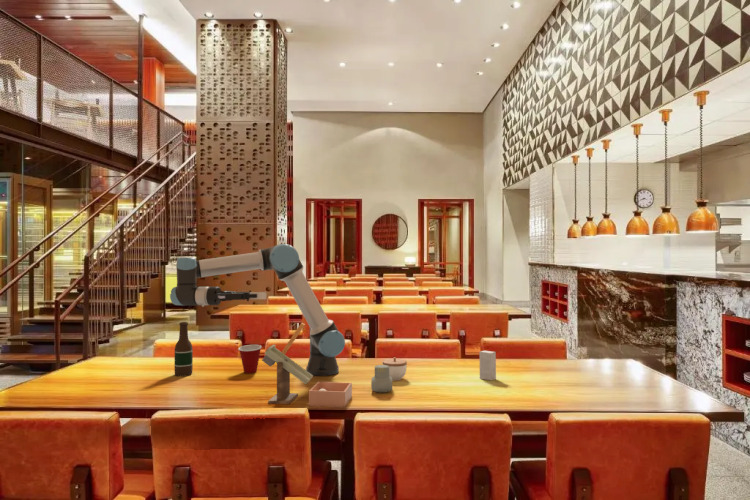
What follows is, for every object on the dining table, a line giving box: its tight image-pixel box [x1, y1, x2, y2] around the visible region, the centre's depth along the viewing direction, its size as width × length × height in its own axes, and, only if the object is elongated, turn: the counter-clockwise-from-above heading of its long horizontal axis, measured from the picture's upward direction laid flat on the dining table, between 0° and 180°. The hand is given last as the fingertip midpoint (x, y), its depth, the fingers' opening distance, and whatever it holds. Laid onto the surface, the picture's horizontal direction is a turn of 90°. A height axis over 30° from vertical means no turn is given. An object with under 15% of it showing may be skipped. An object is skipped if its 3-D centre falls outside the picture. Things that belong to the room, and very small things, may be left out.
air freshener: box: [370, 364, 393, 394], centre depth 205 cm, size 11×8×10 cm
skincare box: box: [478, 350, 497, 381], centre depth 224 cm, size 6×4×12 cm
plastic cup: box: [238, 344, 263, 374], centre depth 238 cm, size 11×11×12 cm
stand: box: [267, 356, 299, 405], centre depth 193 cm, size 8×11×15 cm
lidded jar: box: [382, 357, 408, 381], centre depth 225 cm, size 11×11×9 cm
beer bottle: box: [174, 321, 194, 377], centre depth 233 cm, size 8×8×24 cm
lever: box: [261, 322, 314, 385], centre depth 193 cm, size 20×10×18 cm
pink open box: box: [308, 381, 353, 408], centre depth 190 cm, size 13×13×6 cm
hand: (265, 295), depth 201 cm, fingers closed
